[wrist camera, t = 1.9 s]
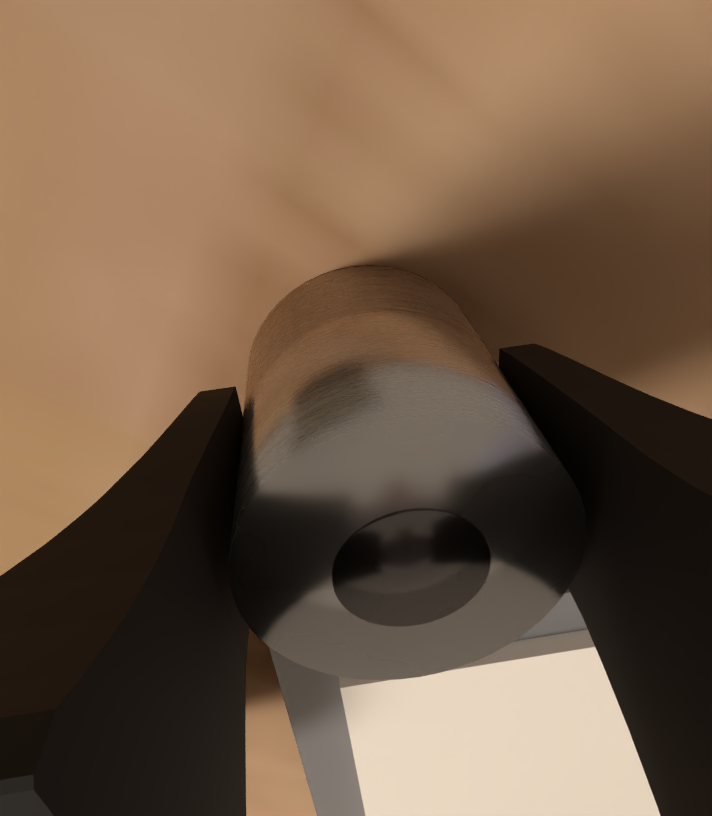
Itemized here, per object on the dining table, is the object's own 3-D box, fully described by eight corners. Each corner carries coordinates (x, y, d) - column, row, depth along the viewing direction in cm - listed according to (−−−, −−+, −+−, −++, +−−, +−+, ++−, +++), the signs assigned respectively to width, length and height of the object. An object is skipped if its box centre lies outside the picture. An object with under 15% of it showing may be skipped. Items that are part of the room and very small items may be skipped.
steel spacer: (477, 249, 11) (610, 393, 6) (476, 453, 13) (572, 656, 9) (224, 284, 11) (185, 456, 6) (270, 484, 13) (265, 706, 9)
